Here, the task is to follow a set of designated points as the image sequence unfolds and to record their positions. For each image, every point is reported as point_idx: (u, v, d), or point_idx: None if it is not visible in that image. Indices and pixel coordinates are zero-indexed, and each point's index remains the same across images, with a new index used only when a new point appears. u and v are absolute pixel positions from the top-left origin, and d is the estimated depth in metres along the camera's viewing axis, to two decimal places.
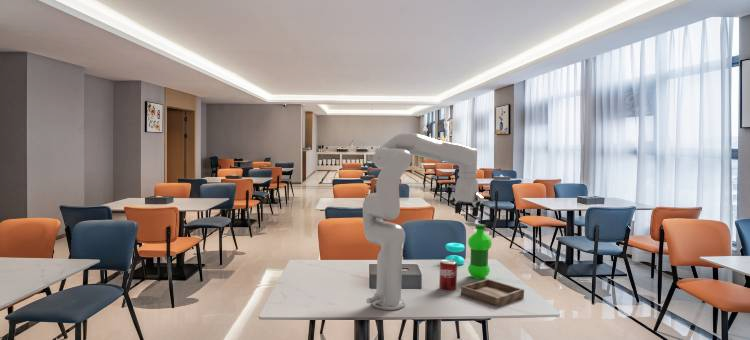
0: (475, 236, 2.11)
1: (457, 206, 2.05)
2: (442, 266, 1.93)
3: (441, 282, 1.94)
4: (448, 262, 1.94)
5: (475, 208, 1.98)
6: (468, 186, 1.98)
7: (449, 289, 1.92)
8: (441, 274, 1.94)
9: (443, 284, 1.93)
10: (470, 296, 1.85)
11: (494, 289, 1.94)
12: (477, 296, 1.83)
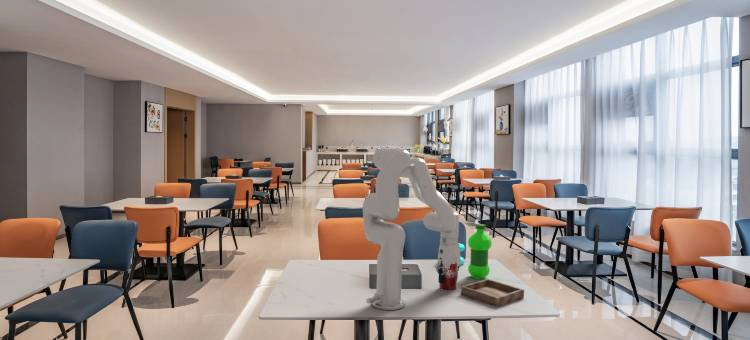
0: (475, 236, 2.11)
1: None
2: (442, 266, 1.93)
3: None
4: None
5: None
6: (458, 251, 1.95)
7: (449, 289, 1.93)
8: None
9: (443, 284, 1.93)
10: (470, 296, 1.85)
11: (494, 289, 1.94)
12: (477, 296, 1.83)
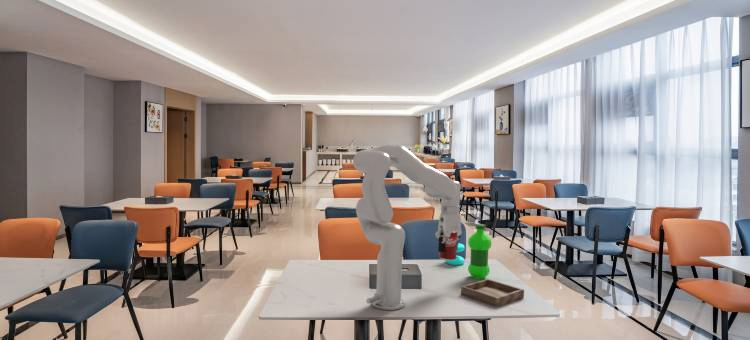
0: (475, 236, 2.11)
1: None
2: None
3: None
4: None
5: None
6: (458, 220, 1.94)
7: (449, 258, 1.91)
8: None
9: (443, 253, 1.92)
10: (470, 296, 1.85)
11: (494, 289, 1.94)
12: (477, 296, 1.83)
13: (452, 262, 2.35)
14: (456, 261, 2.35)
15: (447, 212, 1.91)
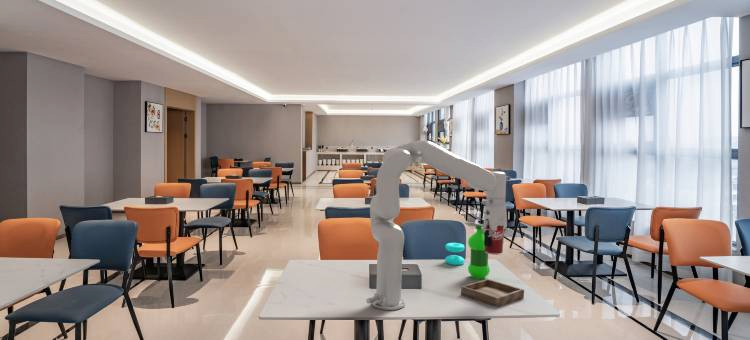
0: (475, 236, 2.11)
1: None
2: (488, 228, 1.84)
3: None
4: None
5: None
6: (504, 212, 1.86)
7: (496, 252, 1.83)
8: None
9: (489, 247, 1.84)
10: (470, 296, 1.85)
11: (494, 289, 1.94)
12: (477, 296, 1.83)
13: (452, 262, 2.35)
14: (456, 261, 2.35)
15: (493, 204, 1.83)
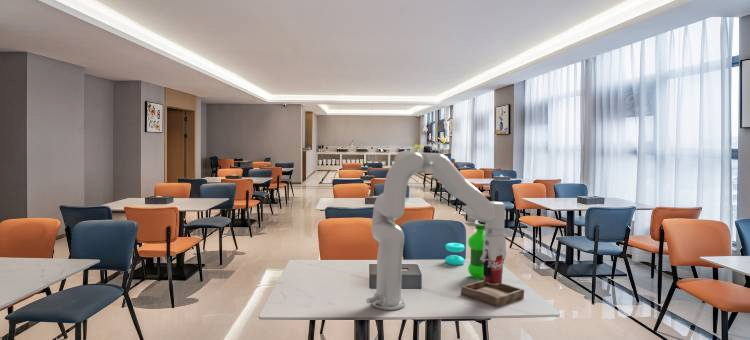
0: (475, 236, 2.11)
1: None
2: (487, 258, 1.85)
3: None
4: None
5: None
6: (503, 242, 1.87)
7: (495, 282, 1.84)
8: None
9: (488, 277, 1.85)
10: (470, 296, 1.85)
11: (494, 289, 1.94)
12: (477, 296, 1.83)
13: (452, 262, 2.35)
14: (456, 261, 2.35)
15: (492, 235, 1.83)
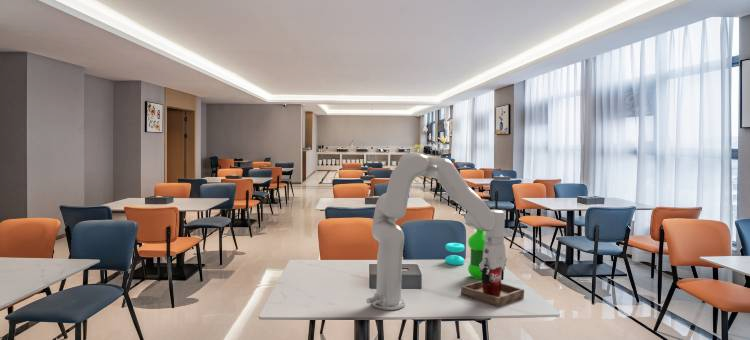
0: (475, 236, 2.11)
1: None
2: (486, 270, 1.85)
3: (485, 286, 1.86)
4: None
5: (502, 271, 1.90)
6: (503, 250, 1.87)
7: (494, 294, 1.84)
8: None
9: (487, 289, 1.85)
10: (470, 296, 1.85)
11: None
12: (477, 296, 1.83)
13: (452, 262, 2.35)
14: (456, 261, 2.35)
15: (492, 243, 1.83)
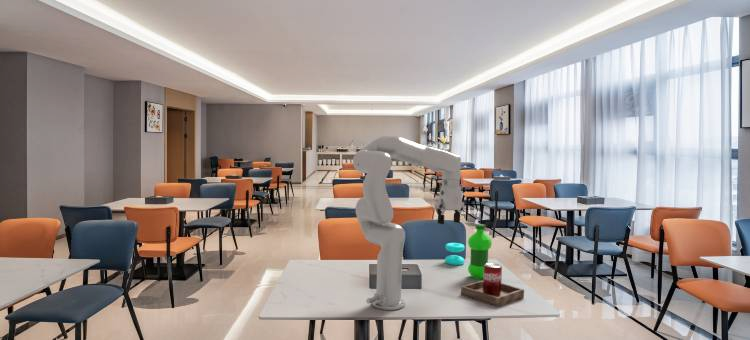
0: (475, 236, 2.11)
1: None
2: (486, 270, 1.85)
3: (485, 286, 1.86)
4: (492, 266, 1.86)
5: None
6: (459, 193, 1.96)
7: (494, 294, 1.84)
8: (485, 278, 1.86)
9: (487, 289, 1.85)
10: (470, 296, 1.85)
11: None
12: (477, 296, 1.83)
13: (452, 262, 2.35)
14: (456, 261, 2.35)
15: (447, 185, 1.93)
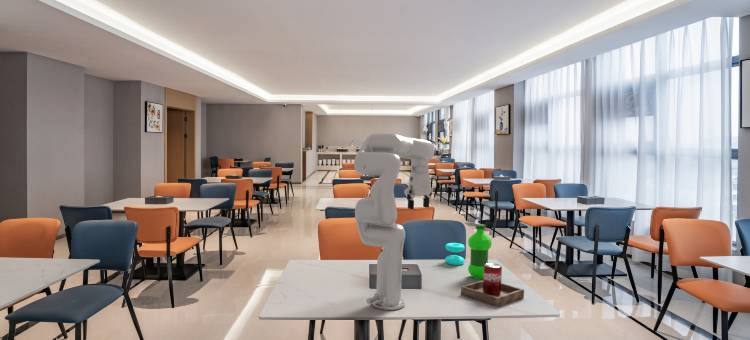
0: (475, 236, 2.11)
1: None
2: (486, 270, 1.85)
3: (485, 286, 1.86)
4: (492, 266, 1.86)
5: (428, 199, 2.07)
6: (428, 179, 2.03)
7: (494, 294, 1.84)
8: (485, 278, 1.86)
9: (487, 289, 1.85)
10: (470, 296, 1.85)
11: None
12: (477, 296, 1.83)
13: (452, 262, 2.35)
14: (456, 261, 2.35)
15: (416, 172, 2.00)
